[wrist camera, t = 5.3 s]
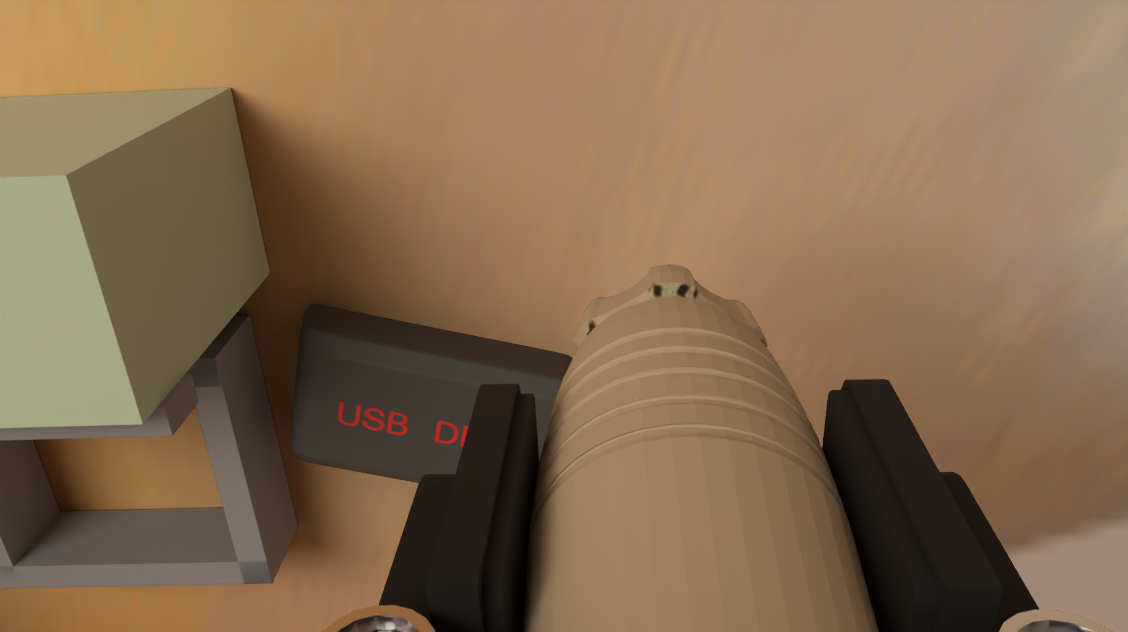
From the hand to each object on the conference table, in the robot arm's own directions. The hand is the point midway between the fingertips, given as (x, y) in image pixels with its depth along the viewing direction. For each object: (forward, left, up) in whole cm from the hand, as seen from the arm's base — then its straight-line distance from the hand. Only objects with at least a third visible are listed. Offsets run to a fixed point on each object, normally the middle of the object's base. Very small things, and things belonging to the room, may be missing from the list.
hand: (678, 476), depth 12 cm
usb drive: (+5, +8, -16) cm, 19 cm away
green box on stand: (+18, +5, -16) cm, 24 cm away
